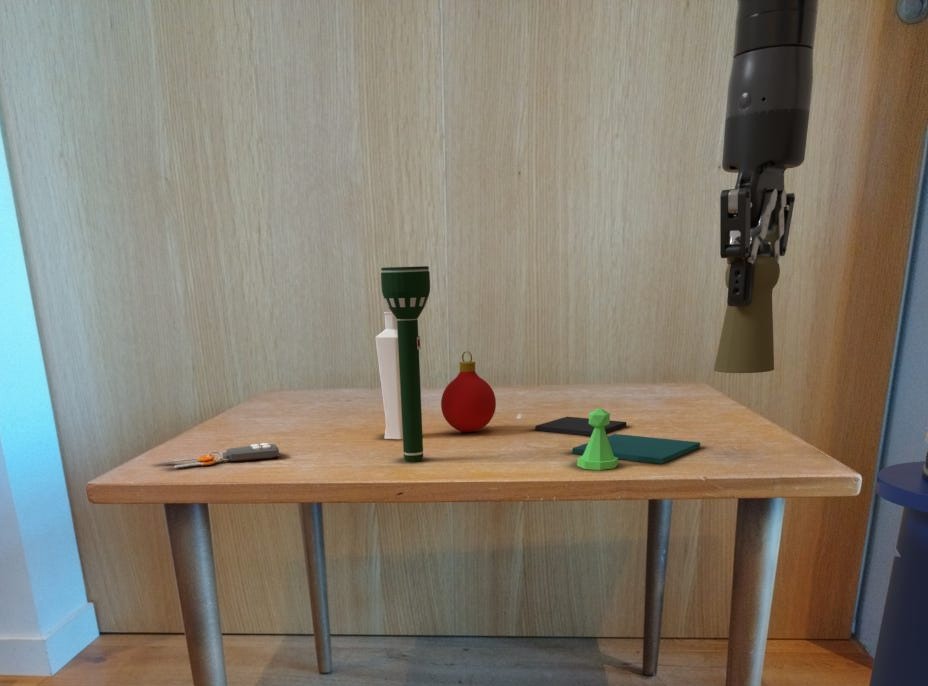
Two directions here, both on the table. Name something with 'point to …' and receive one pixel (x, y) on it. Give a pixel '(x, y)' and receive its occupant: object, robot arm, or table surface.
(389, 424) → the perfume bottle
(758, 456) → the table surface
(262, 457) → the key chain
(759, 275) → the cork
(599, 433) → the game piece
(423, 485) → the table surface
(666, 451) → the teal pad
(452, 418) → the christmas ornament
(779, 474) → the table surface
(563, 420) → the charcoal pad
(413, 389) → the flashlight
